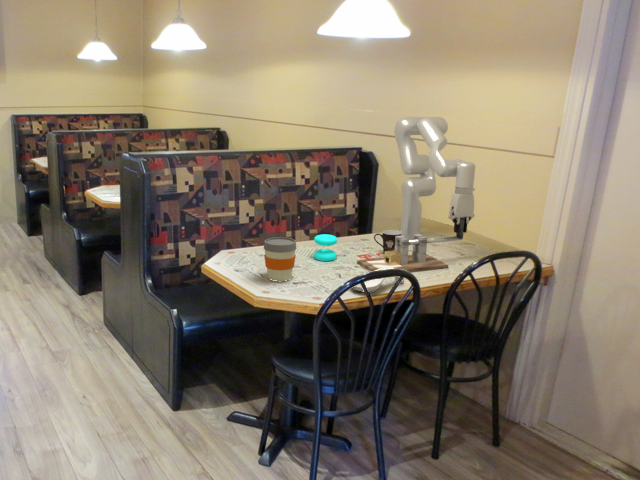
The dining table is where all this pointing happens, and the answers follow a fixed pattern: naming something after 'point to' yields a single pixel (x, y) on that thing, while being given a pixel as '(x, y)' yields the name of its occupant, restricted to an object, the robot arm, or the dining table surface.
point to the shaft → (443, 239)
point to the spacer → (392, 257)
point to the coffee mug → (388, 239)
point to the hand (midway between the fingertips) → (460, 231)
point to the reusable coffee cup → (279, 257)
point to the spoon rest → (375, 282)
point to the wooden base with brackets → (407, 257)
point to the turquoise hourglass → (325, 253)
